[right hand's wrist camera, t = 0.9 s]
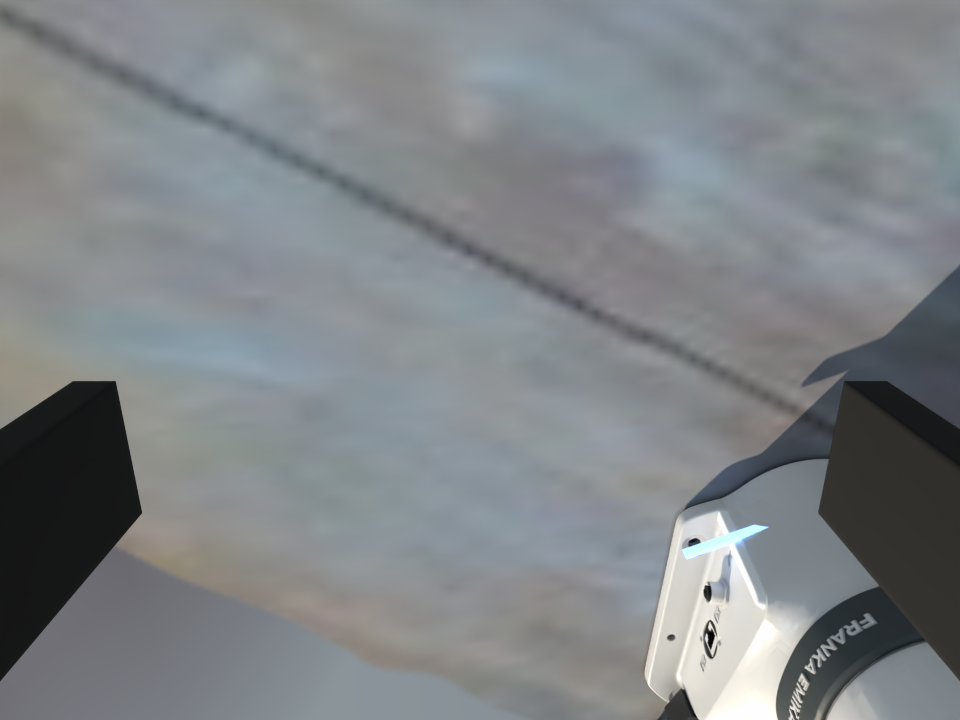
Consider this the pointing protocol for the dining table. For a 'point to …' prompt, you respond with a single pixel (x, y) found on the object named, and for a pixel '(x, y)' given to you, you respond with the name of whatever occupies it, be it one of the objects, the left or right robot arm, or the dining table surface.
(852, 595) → the left robot arm
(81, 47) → the dining table surface
